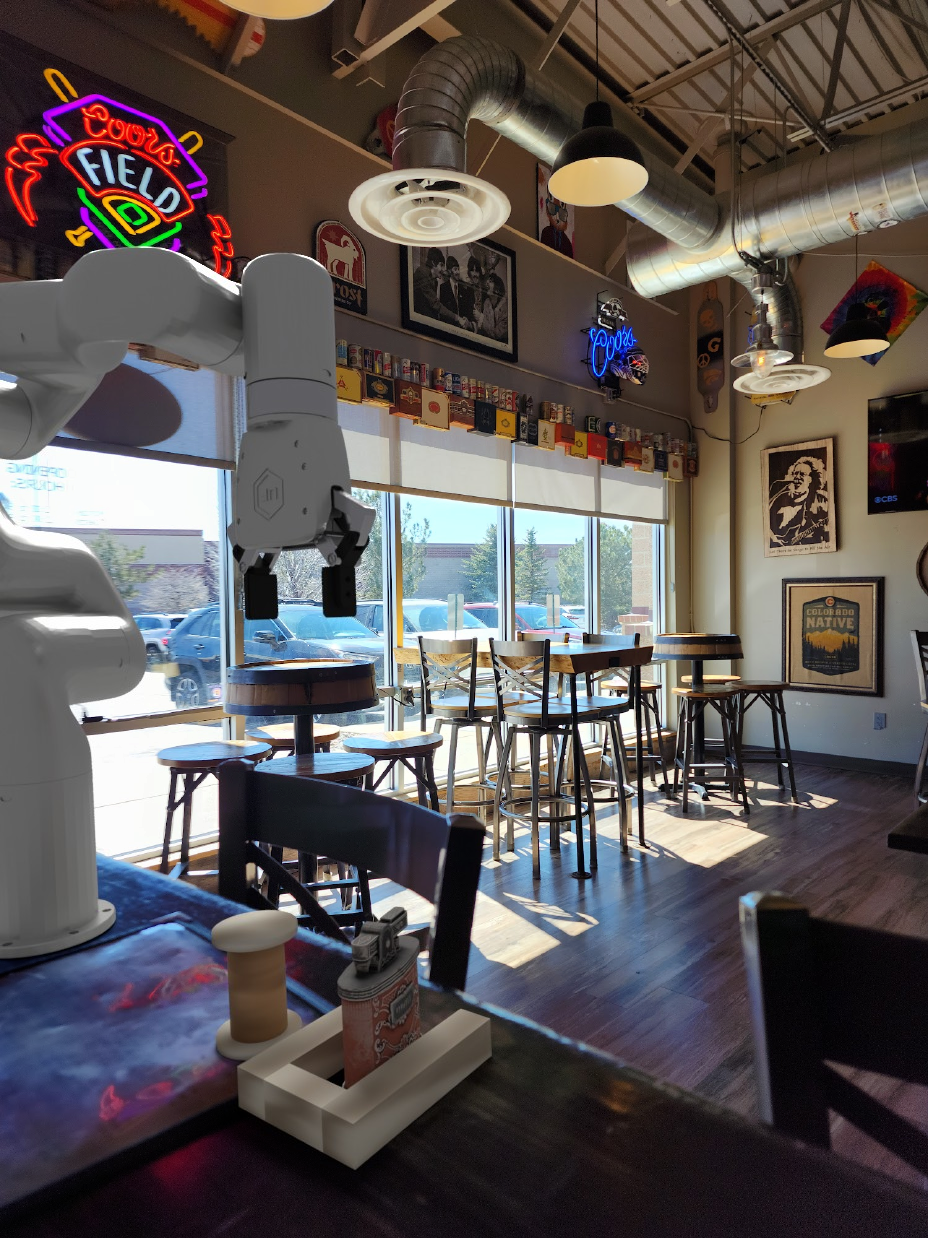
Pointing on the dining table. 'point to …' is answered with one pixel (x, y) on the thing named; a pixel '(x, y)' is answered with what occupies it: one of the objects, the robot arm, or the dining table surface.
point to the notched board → (357, 1084)
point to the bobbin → (255, 982)
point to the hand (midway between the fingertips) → (299, 618)
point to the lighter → (379, 996)
